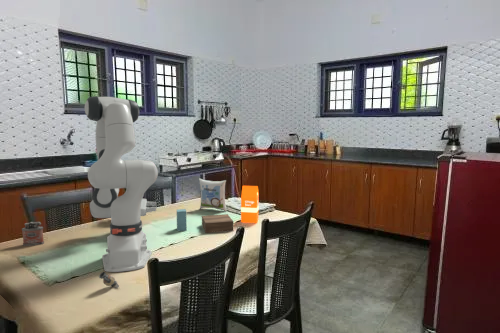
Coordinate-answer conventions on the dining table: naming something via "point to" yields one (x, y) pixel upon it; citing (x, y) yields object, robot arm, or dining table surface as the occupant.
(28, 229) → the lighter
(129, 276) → the dining table surface
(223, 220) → the walnut base
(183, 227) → the teal block
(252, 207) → the orange juice
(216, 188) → the pouch
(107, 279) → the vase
